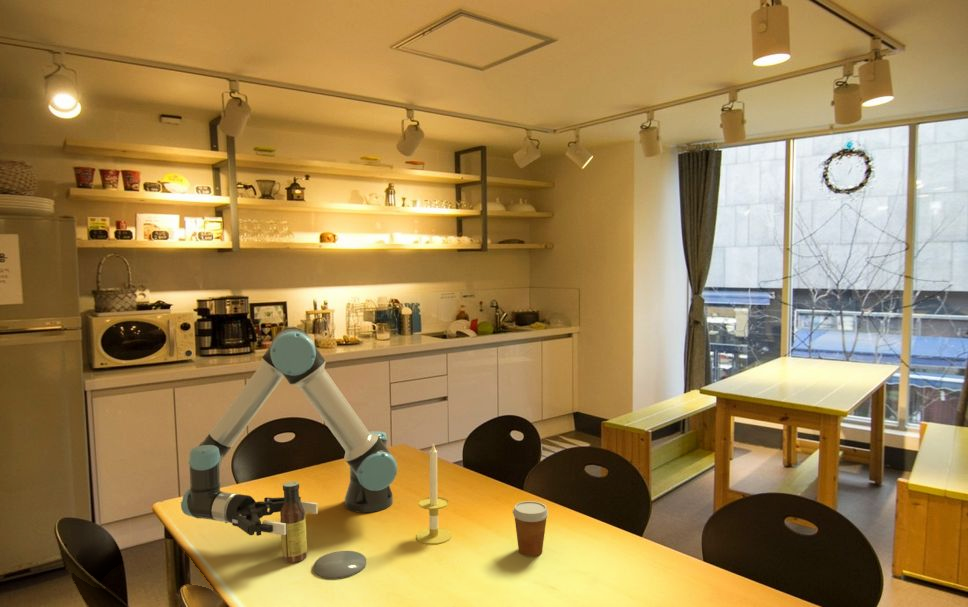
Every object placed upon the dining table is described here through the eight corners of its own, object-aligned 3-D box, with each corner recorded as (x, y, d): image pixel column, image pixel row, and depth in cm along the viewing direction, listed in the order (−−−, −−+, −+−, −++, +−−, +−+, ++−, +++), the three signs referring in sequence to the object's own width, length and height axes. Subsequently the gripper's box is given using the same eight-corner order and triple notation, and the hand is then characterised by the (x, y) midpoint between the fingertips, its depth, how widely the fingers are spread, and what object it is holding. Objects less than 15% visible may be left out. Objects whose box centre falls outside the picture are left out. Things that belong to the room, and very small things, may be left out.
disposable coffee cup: (524, 562, 155) (524, 517, 154) (506, 547, 164) (506, 504, 163) (555, 554, 159) (555, 510, 159) (535, 540, 168) (536, 498, 167)
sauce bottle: (312, 554, 160) (310, 481, 159) (297, 565, 154) (295, 489, 153) (291, 551, 162) (289, 478, 161) (276, 561, 156) (274, 486, 155)
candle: (458, 533, 172) (457, 440, 171) (439, 547, 164) (438, 449, 162) (428, 526, 177) (428, 435, 176) (409, 539, 168) (408, 444, 167)
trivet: (353, 549, 163) (353, 546, 163) (374, 568, 152) (374, 565, 152) (306, 563, 155) (305, 560, 155) (325, 584, 145) (325, 581, 145)
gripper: (265, 504, 175) (329, 514, 168) (199, 541, 151) (270, 554, 145) (264, 479, 175) (328, 487, 168) (198, 512, 151) (269, 523, 144)
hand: (301, 518), depth 156 cm, fingers open, 13 cm apart
